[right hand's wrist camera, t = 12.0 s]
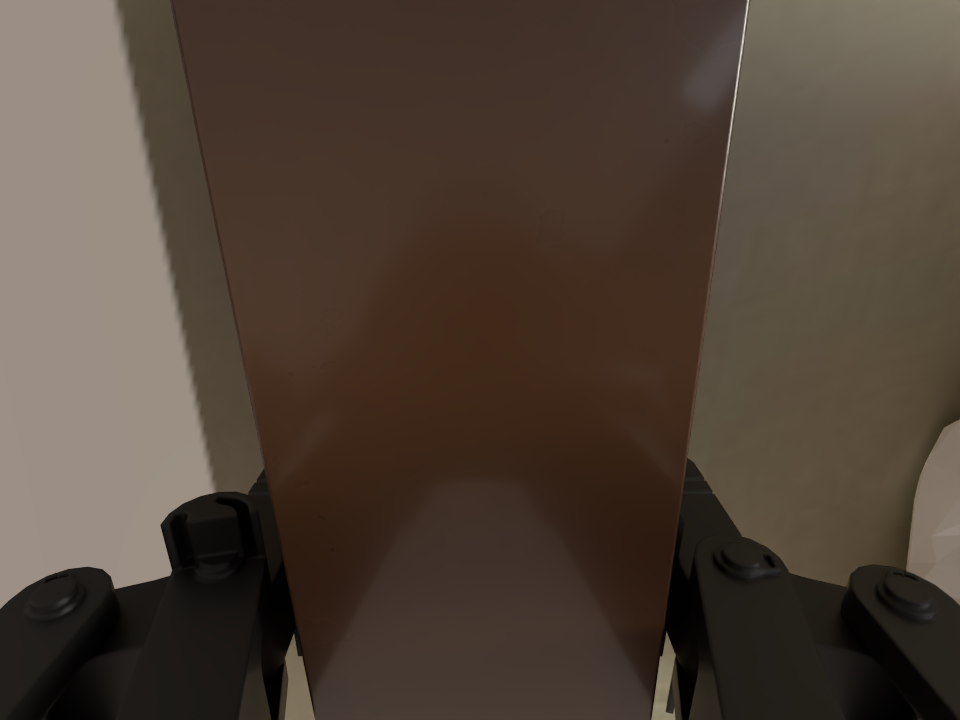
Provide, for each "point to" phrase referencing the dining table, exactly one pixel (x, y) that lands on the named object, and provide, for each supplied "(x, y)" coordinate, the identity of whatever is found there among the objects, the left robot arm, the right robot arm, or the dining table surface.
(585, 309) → the walnut beam
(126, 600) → the right robot arm
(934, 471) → the skull
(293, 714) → the dining table surface
